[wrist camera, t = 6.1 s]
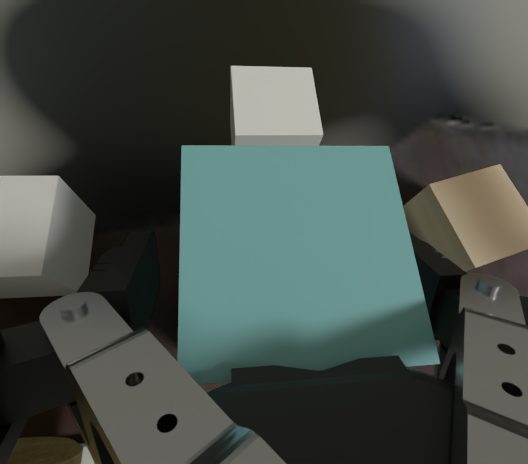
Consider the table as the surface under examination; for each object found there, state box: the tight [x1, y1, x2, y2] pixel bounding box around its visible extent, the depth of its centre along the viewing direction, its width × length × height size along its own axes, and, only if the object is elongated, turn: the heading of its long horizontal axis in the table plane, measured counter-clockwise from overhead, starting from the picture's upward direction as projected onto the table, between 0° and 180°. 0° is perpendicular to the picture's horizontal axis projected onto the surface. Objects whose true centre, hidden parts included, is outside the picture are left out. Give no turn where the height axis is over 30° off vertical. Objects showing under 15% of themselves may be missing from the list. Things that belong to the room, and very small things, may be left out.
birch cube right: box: [403, 164, 528, 271], centre depth 16 cm, size 4×4×4 cm
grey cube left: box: [0, 176, 96, 298], centre depth 14 cm, size 4×4×4 cm
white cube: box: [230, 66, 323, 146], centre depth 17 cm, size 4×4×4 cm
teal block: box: [177, 145, 440, 384], centre depth 11 cm, size 5×5×10 cm
